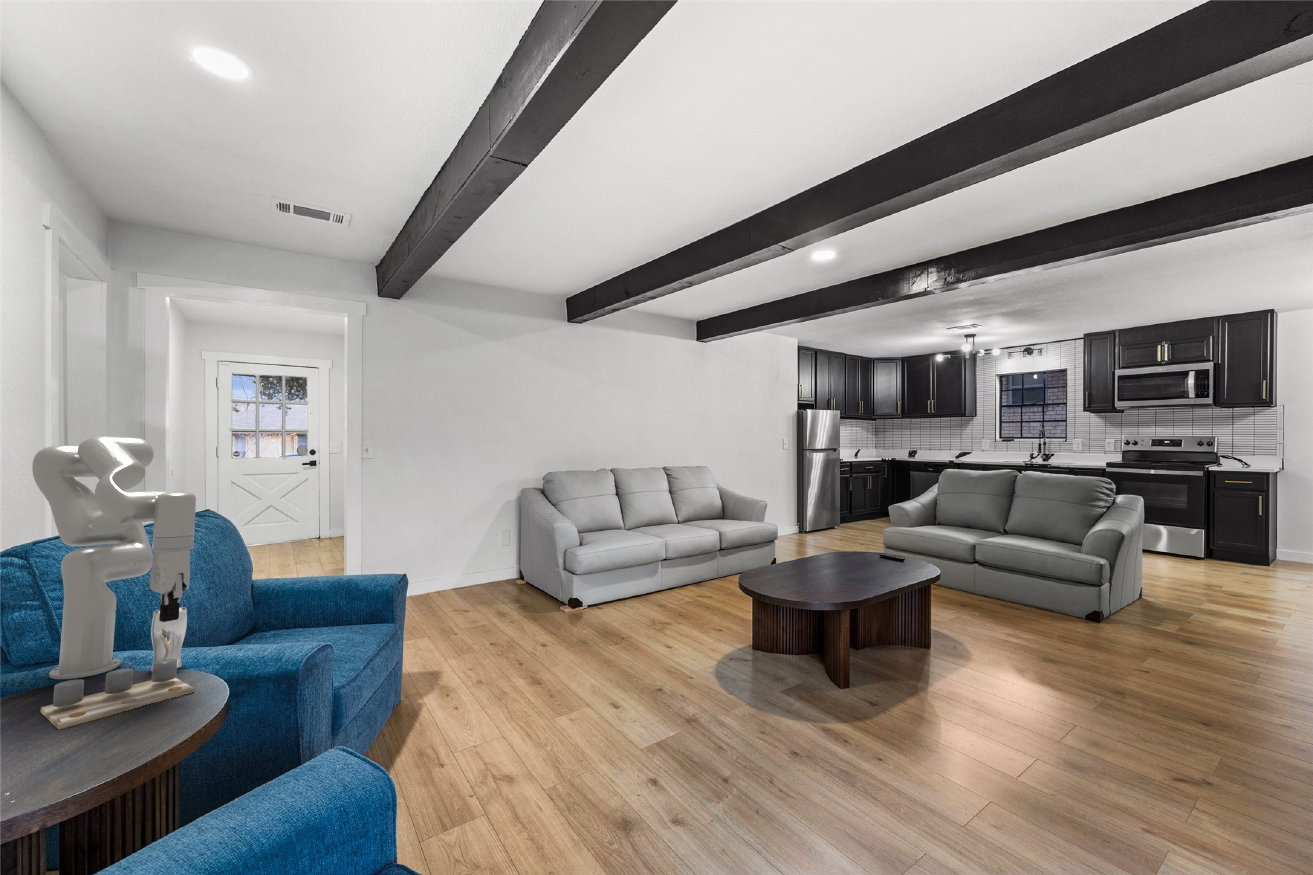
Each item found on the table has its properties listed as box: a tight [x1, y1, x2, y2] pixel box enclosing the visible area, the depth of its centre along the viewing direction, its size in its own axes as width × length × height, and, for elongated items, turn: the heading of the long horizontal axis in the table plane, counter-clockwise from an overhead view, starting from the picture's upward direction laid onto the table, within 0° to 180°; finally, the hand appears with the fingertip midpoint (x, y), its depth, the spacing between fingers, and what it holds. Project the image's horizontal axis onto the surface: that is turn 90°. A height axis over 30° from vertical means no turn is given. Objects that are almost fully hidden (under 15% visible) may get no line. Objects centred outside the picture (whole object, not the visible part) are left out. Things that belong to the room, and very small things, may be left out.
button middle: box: [104, 667, 134, 694], centre depth 124 cm, size 4×4×4 cm
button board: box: [40, 677, 195, 731], centre depth 123 cm, size 14×22×2 cm, turn 148°
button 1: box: [52, 678, 85, 707], centre depth 118 cm, size 4×4×4 cm
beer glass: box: [150, 606, 188, 673], centre depth 144 cm, size 7×7×15 cm
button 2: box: [151, 658, 178, 682], centre depth 131 cm, size 4×4×4 cm
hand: (169, 620), depth 132 cm, fingers closed
